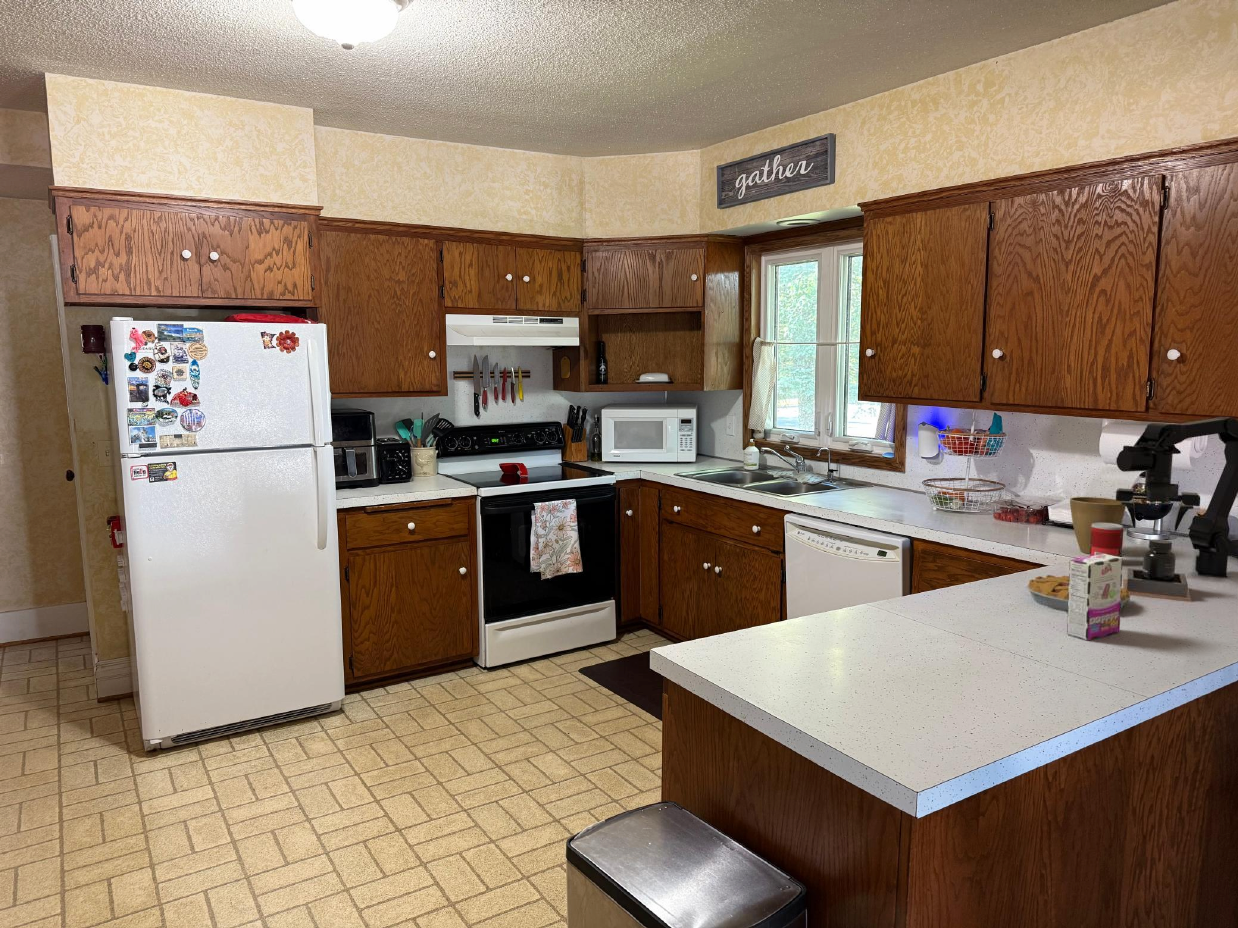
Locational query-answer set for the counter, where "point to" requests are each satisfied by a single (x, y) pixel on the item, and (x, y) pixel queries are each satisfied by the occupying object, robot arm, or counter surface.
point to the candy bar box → (1094, 596)
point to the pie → (1058, 592)
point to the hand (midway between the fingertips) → (1154, 529)
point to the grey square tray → (1157, 586)
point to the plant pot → (1093, 516)
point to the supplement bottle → (1159, 561)
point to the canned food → (1106, 539)
